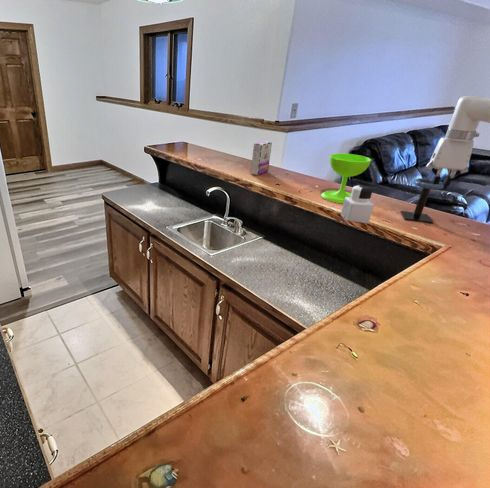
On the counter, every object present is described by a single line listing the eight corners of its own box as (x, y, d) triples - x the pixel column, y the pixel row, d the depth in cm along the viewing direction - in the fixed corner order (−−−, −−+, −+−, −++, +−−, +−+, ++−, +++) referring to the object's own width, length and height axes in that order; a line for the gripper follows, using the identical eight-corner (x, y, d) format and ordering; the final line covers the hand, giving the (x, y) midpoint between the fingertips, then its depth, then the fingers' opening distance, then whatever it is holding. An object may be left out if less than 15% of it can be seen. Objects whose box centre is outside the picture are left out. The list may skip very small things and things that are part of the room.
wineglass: (339, 190, 166) (349, 152, 157) (368, 201, 152) (380, 160, 144) (313, 194, 160) (321, 154, 152) (340, 205, 147) (351, 163, 139)
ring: (439, 184, 131) (441, 179, 130) (446, 191, 123) (448, 186, 122) (410, 181, 134) (412, 176, 133) (416, 187, 126) (417, 183, 125)
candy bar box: (260, 170, 197) (264, 140, 190) (268, 172, 194) (272, 142, 187) (249, 174, 190) (253, 143, 183) (257, 175, 187) (262, 144, 179)
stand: (426, 217, 137) (438, 184, 131) (431, 226, 129) (445, 191, 123) (399, 214, 140) (410, 181, 134) (404, 222, 132) (416, 187, 126)
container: (360, 216, 136) (369, 184, 131) (368, 224, 130) (378, 190, 124) (340, 215, 137) (348, 183, 131) (347, 223, 130) (356, 189, 124)
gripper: (484, 135, 119) (462, 187, 128) (429, 131, 125) (411, 181, 133) (492, 139, 113) (469, 193, 121) (434, 134, 118) (415, 187, 127)
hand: (439, 186), depth 127 cm, fingers closed on ring, 2 cm apart
